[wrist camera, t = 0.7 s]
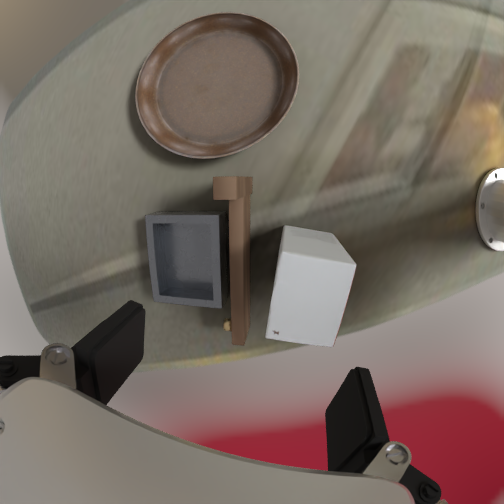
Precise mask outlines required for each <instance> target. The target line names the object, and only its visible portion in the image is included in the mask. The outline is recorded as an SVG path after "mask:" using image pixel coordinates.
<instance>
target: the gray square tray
mask: <svg viewBox="0 0 504 504" xmlns="http://www.w3.org/2000/svg"><path fill="white" fill-rule="evenodd" d="M145 221H146V235H147V247H148V258H149V267H150V276H151V284H152V292H153V299H154V301H155V302H163V303H172V304H181V305H190V306H200V307H210V308H222V307H223V305H224V304H225V302H226V300H227V298H228V281H227V237H226V211H170V212H155V213H152V214H148V215H145Z"/></svg>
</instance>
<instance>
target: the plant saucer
mask: <svg viewBox="0 0 504 504" xmlns="http://www.w3.org/2000/svg"><path fill="white" fill-rule="evenodd" d="M298 84H299V66H298V61H297V57H296V54H295V52H294V49H293V47H292V45H291V44H290V42H289V41H288V40H287V38H286V37H285V36H284V35H283V34H282V33H281V32H280V31H279V30H278V29H277V28H276V27H274V26H273V25H272V24H270V23H268V22H266V21H265V20H263V19H260V18H258V17H255V16H252V15H248V14H243V13H235V12H221V13H212V14H207V15H204V16H200V17H197V18H194V19H192V20H189V21H187V22H185V23H183V24H181V25H180V26H178V27H176V28H175V29H173V30H172V31H171V32H169V33H168V34H167V35H166V36H164V37H163V38H162V39H161V40H160V41H159V42H158V43H157V44H156V46H155V47H154V48H153V49H152V51H151V52H150V53H149V55H148V56H147V58H146V60H145V61H144V63H143V65H142V68H141V70H140V73H139V76H138V79H137V85H136V93H135V100H136V108H137V113H138V116H139V119H140V121H141V123H142V125H143V127H144V128H145V130H146V132H147V133H148V134H149V135H150V137H151V138H152V139H153V140H154V141H155V142H157V143H158V144H159V145H160V146H162V147H163V148H165V149H167V150H169V151H171V152H173V153H175V154H178V155H181V156H185V157H190V158H201V159H206V158H218V157H223V156H228V155H231V154H235V153H237V152H240V151H242V150H245V149H247V148H249V147H251V146H253V145H254V144H256V143H258V142H259V141H261V140H262V139H264V138H265V137H266V136H267V135H269V134H270V133H271V132H272V131H273V130H274V129H275V128H276V127H277V126H278V125H279V124H280V123H281V121H282V120H283V119H284V117H285V116H286V114H287V113H288V111H289V110H290V108H291V106H292V104H293V102H294V99H295V96H296V93H297V89H298Z"/></svg>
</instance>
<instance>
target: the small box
mask: <svg viewBox="0 0 504 504" xmlns="http://www.w3.org/2000/svg"><path fill="white" fill-rule="evenodd" d="M356 266H357V265H356V263H355V262H354V261H353V259H352V258H351V257H350V255H349V254H348V253H347V251H346V250H345V249H344V247H343V246H342V245H341V243H340V242H339V241H338V240H337V238H336V237H335V236H334V234H333V233H328V232H322V231H317V230H311V229H305V228H299V227H293V226H287V225H284V226H283V231H282V237H281V243H280V249H279V255H278V261H277V267H276V274H275V280H274V287H273V293H272V298H271V304H270V311H269V317H268V323H267V329H266V336H265V337H266V338H268V339H275V340H281V341H287V342H294V343H301V344H309V345H317V346H326V347H333V346H334V344H335V340H336V338H337V334H338V331H339V328H340V325H341V322H342V318H343V315H344V311H345V308H346V305H347V301H348V298H349V294H350V290H351V286H352V282H353V278H354V274H355V270H356Z"/></svg>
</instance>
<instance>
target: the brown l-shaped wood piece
mask: <svg viewBox="0 0 504 504" xmlns="http://www.w3.org/2000/svg"><path fill="white" fill-rule="evenodd" d="M250 194H252V177H236V176H234V177H213V200H229V251H230V294H231V319H230V318H225V319H224V324H223V328H224V330H225V331H232V344H233V345H243V346H244V344H245V341H246V337H247V334H248V331H249V327H250Z"/></svg>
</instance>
